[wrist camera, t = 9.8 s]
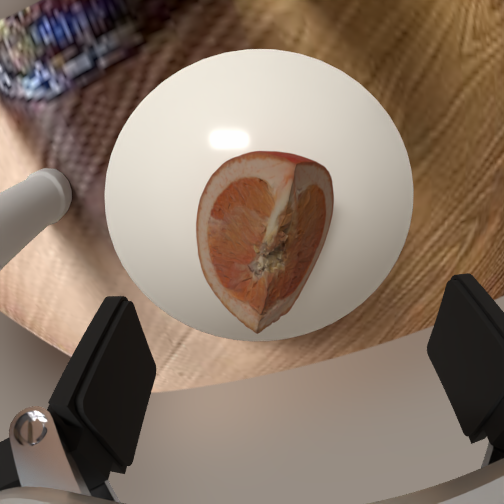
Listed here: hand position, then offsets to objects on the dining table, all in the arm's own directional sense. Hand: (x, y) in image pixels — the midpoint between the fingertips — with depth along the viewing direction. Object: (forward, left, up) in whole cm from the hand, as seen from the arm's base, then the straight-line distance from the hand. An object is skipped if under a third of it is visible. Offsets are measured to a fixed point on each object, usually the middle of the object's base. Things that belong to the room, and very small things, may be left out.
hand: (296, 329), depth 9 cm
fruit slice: (+1, 0, -10) cm, 10 cm away
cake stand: (+1, 0, -19) cm, 19 cm away
